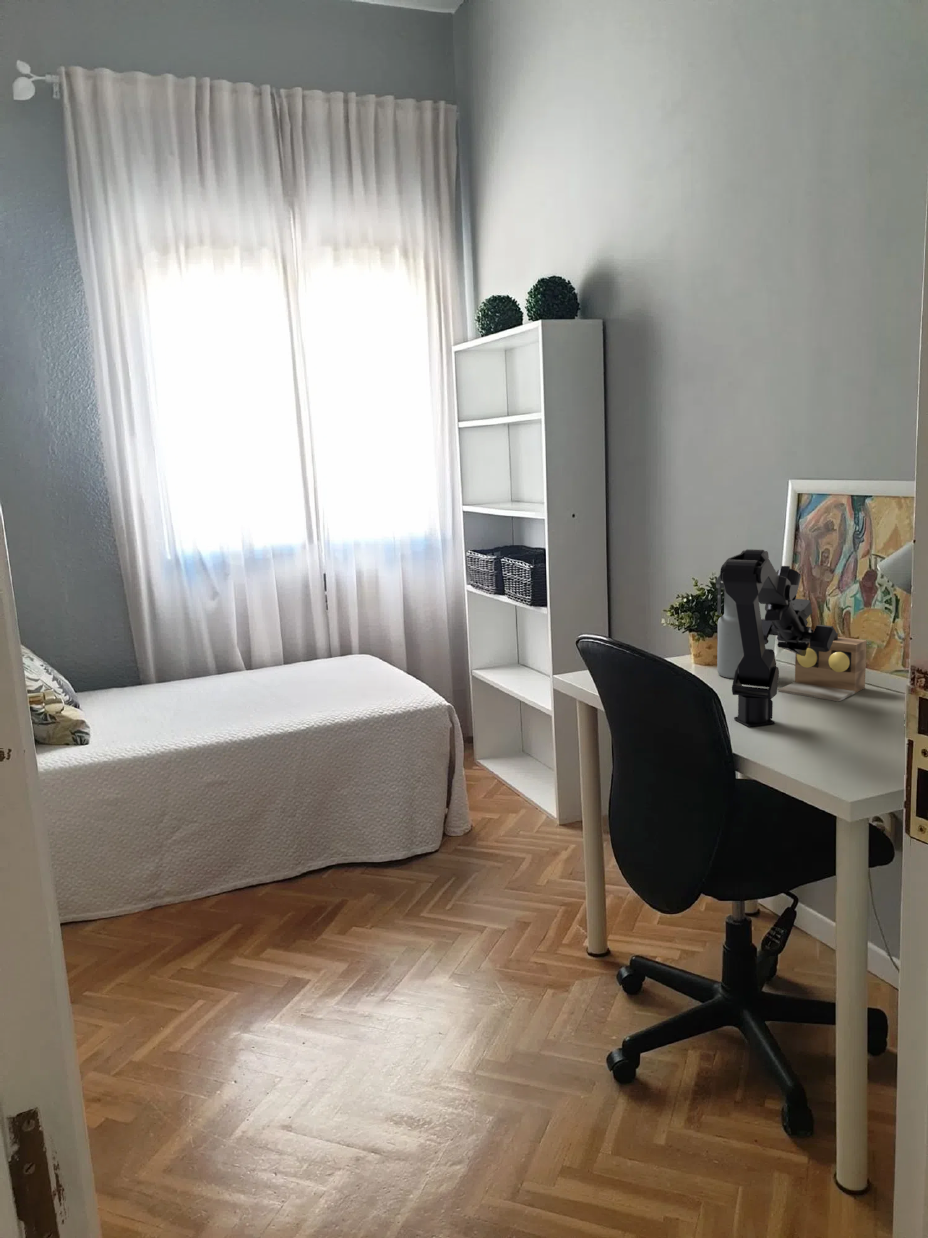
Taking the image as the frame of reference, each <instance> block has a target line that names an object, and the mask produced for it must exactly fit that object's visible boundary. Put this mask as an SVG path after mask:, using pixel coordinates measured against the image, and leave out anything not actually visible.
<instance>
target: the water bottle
mask: <svg viewBox="0 0 928 1238" xmlns="http://www.w3.org/2000/svg"><path fill="white" fill-rule="evenodd" d="M715 588H716V589H717V616H720V615H721V611H722V593H724V601H723V602H724V603H723V605H724V606H723V608H724V610H723V612H724V613H723V615H721V616H720V617H719V618H718V620H717V647H716V649H717V653H716V654H717V656H716V657H717V658H716V659H717V663H716V665H717V668H716V671H717V674H718V675H719V676H721V678H722V677H723V678H727V679H732V680H734V675H735V670H736V669H737V667H738V664H739V662H740V660H741V657H742V655H743V649H742V643H741V636H740V630H739V624H738V617H737V611H736V605H735V601H734V600H733V599H732V598H731V597H730V596H729V595H728V594H727V593H726V592H725V589H724V585H723V582H722V581H721V578H720V573H719V574H718V576H717V578H716V581H715ZM722 589H723V592H722Z"/></svg>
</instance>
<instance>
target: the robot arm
mask: <svg viewBox="0 0 928 1238" xmlns="http://www.w3.org/2000/svg"><path fill="white" fill-rule="evenodd" d="M719 572H720V573H719V574H720V578H721V583H723V585H724V589H725V592H726V593H727V594H728V595H729V596H730V597H731V598H732V599H733V600H734V601H735V605H736V611H737V617H738V624H739V630H740V636H741V643H742V649H743V655H742V657H741V660H740V662H739V664H738V667H737V669H736V670H735V675H734V679H732V685H731V692H732V696H738V697H737V716H734V717H733V719H734V720H735V721H737V722H739V723H740V724H743V725H744V726H746V727H749V728H750V727H752V728H753V727H758V726H759V727H760V726H765V725H766V726H767V725H774V724H776V721H775V720H773V707H774V704H773V703H774V701H773V700H772V699H773V698H774V697H776V695H777V693H778V687H779V677H780V671H779V670H780V669H779V667H778V666H777V661H776V655H775V654H776V653H775V651H774V649H773V648H766V645H767V644H769V636H776V637H775V640H774V641H776V642H777V644H776V645H777V647H778V648H781V649H783V650H786V651H789V652H791V653H794V654H795V655H796V654H798V655H801V656H805V655H806V650H807V648H808V645H809V643H810V647H811V649H813V650H815V651H820V652H828V651H829V650H830V647H831V645H832V643H833V640H834V638H835V635H836V633H837V631H836V629H835V628H834V626H833V625H825V624H817V625H816V626H815V628H814V629H812V628H811V627H810V626H808V623H809V621H808V620H807V619H808V618H809V617H810V615H812V614H813V610H812V609H813V607H812V604H811V603H812V602H811V600H810V599H805V598H797V595H798V591H799V587H800V584H801V578H802V574H801V573H799V572H798V571H797V570H795V569H793V568H791V566H790V565H781V566H780V569H777V570H776V569H775V568H774V566H773V564H772V562H771V561H770V558H769V552H768V550H765V549H752V548H751V549H748V548H747V549H744V550H742V551H741V552H740V553H739V554H736V555H734V556H732V557H729V558H727V559H726V560H725V562H724V563H723V564H722V565H721V567H720V571H719ZM760 604H762V605H765V606H764V610H765V614H764V618H762V615H761V609H760Z"/></svg>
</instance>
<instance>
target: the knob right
mask: <svg viewBox="0 0 928 1238" xmlns="http://www.w3.org/2000/svg"><path fill="white" fill-rule="evenodd" d="M829 666H830V667H831V669H832V670H834V671H836V672H843V671H845V670H847V669H848V668H849V667H851V652H844V651H841V652H835V653H833V654H832V655H831V656H830V657H829Z"/></svg>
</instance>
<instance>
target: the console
mask: <svg viewBox="0 0 928 1238" xmlns="http://www.w3.org/2000/svg"><path fill="white" fill-rule="evenodd" d="M867 642H868V641H867V640H866V639H858V638H849V637H841V636H839V633H838V632H836V635H835V638H834V640H833V643H832V645H831V647H830V650H829V651H828V652H820V651H819V662H818V663H816V664H815V665H814V666H812V667H809V668H806V667H803V666H801V665H800V664H799V662H798V660H797V654H796V653H795V658H794V659H795V661H794V666H795V667H794V682H791V683H789V684H787V685H785V686H783V687H781V688H778V692H779V693H784V694H785V693H786V694H792V695H797V696H804V697H811V698H816V699H820V700H821V699H822V700H827V701H828V700H829V701H835V702H841V701H843V700H845V699H846V698H849V697H851V696H853V695H854V694H855V695H856V694H857V693H859V692H861V691H863V690H864V689H866V667H867V666H866V665H867ZM809 647H810V643H809V645H808V648H809ZM841 651H844V652H851V667H849V668H848V669H847V670H845V671H843V672H836V671H834V670H832V669H831V667H830V666H829V657H830V656H831V655H832V654H833V653H835V652H841ZM862 689H863V690H862Z"/></svg>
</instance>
